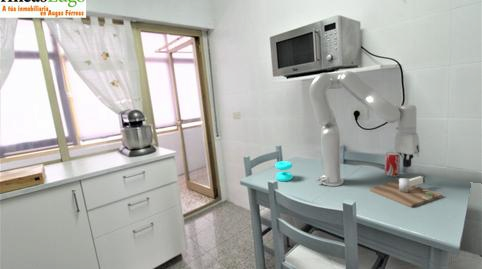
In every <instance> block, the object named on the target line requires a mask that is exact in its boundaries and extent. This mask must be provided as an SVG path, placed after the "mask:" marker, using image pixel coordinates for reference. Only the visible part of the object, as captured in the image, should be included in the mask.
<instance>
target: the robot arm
mask: <svg viewBox="0 0 482 269" xmlns="http://www.w3.org/2000/svg"><path fill="white" fill-rule="evenodd" d="M337 89H344V90H345V91H347V93H348V94H350V95H352V96H353V97H354V98H355V99H356V100H357V101H358V102H359V103H361V104H362V105H364V106H365V107H367V108H369V109H370V110H371V111H373V113H375V114H376V115H377V116H378V117H380V119H381V120H383V121H384V122H386V123H389V124H394V123H396V122H397V127H396V128H395V130H396V131H397V132H396V134H395V137H394V143H393V144H394V145H393V148H394V149H393V150H394V152H396V153H397V154H399V155H400V157H401V159H402V165H403V167H405V168H410V167H412V160H413V158H418V157H420V151H421V146H420V137H419V134H418V133H417V106H416V105H415V104H404V105H394V104H392V103H391V102H390V101H389V100H388V99H386V97H384V96H383V95H381V94H380V93H379V92H378V91H377V90H376V89H374V88H373V87H372V86H370V85H369V84H368V83H367V82H366V81H365V80H364V79H362V78H361V77H360V76H358V75H357V74H356V73H355V72H353V71H350V70H349V71H344V72H334V73H332V72H331V73H327V72H322V73H320V74H318V75H317V76H316V77H315V78H314V79H313V80H312V81H311V83H310V86H309V89H308V90H309V91H308V92H309V99H310V103H311V106H312V110H313V112H314V117H315V120H316V122H317V123H318V126H319V129H320V132H321V133H320V146H321V172H322V173H321V174H320V176H319V177H315V178H314V180H315V182H316V183H317V182H319V183H320V184H322V185H325V186H328V187H339V186H341V185H343V184H344V183H345V182H344V179H343V178H341V134H340V133H341V132H340V128H339V126H338V122H337V120H336V117H335V112H334V111H333V109H332V108H331V106H330V103H329V100H328V97H327V96H328V95H327V90H337Z"/></svg>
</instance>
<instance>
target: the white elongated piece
mask: <svg viewBox="0 0 482 269" xmlns="http://www.w3.org/2000/svg"><path fill="white" fill-rule="evenodd" d="M398 180H399V191H402V192H409V187H411V186H414V185H415V186H419V185H420V184H424V183H426V182H425V180H426V176H424V175H419V176H415V177H413V178H406V177H400V178H399V179H398Z"/></svg>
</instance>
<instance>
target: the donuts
mask: <svg viewBox="0 0 482 269" xmlns="http://www.w3.org/2000/svg"><path fill="white" fill-rule="evenodd" d="M292 167H293V163H292V162H290V161H285V160H284V161H283V160H282V161H277V162H276V163H275V168H276V170H279V171H281V172H277V174H276V176H275V177H276V178H275V179H276V180H277V181H281V182H289V181H292V179H293V177H294V176H293V174H292V173H291V172H289V170H290V169H291V168H292Z"/></svg>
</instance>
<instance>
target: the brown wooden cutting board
mask: <svg viewBox="0 0 482 269" xmlns="http://www.w3.org/2000/svg"><path fill="white" fill-rule="evenodd" d="M368 191H370V192H372V193H374V194H377V195H379V196H382V197H385V198H386V199H389V200H391V201H393V202H397V203H399V204H402V205H403V206H406V207H409V208H410V209H411V208H414V207H417V206H421V205H424V204H427V203H429V202H432V201H435V200H437V199H438V200H439V199H441V198H443V196H444V194H443V193H439V192H436V191H434V190H430V189H427V188H424V187H421V185H414V186H411V187H409V192H402V191H399V179H397V180H393V181H390V182H386V183H383V184H379V185H376V186H373V187H370V188H369V190H368Z"/></svg>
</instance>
